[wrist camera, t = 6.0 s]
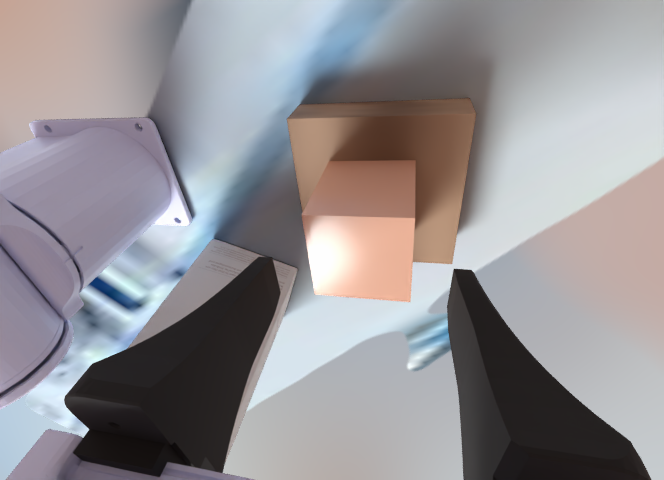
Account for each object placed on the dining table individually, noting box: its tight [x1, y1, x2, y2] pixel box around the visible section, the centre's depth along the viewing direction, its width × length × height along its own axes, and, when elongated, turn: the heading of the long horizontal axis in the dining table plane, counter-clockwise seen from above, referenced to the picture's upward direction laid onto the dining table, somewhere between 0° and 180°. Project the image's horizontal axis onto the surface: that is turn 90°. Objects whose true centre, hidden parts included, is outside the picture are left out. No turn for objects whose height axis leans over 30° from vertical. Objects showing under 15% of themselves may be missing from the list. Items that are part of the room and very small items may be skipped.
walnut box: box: [287, 98, 476, 264], centre depth 20 cm, size 9×9×3 cm
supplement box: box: [127, 239, 298, 462], centre depth 24 cm, size 7×7×13 cm
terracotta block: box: [302, 160, 416, 302], centre depth 17 cm, size 4×4×6 cm
